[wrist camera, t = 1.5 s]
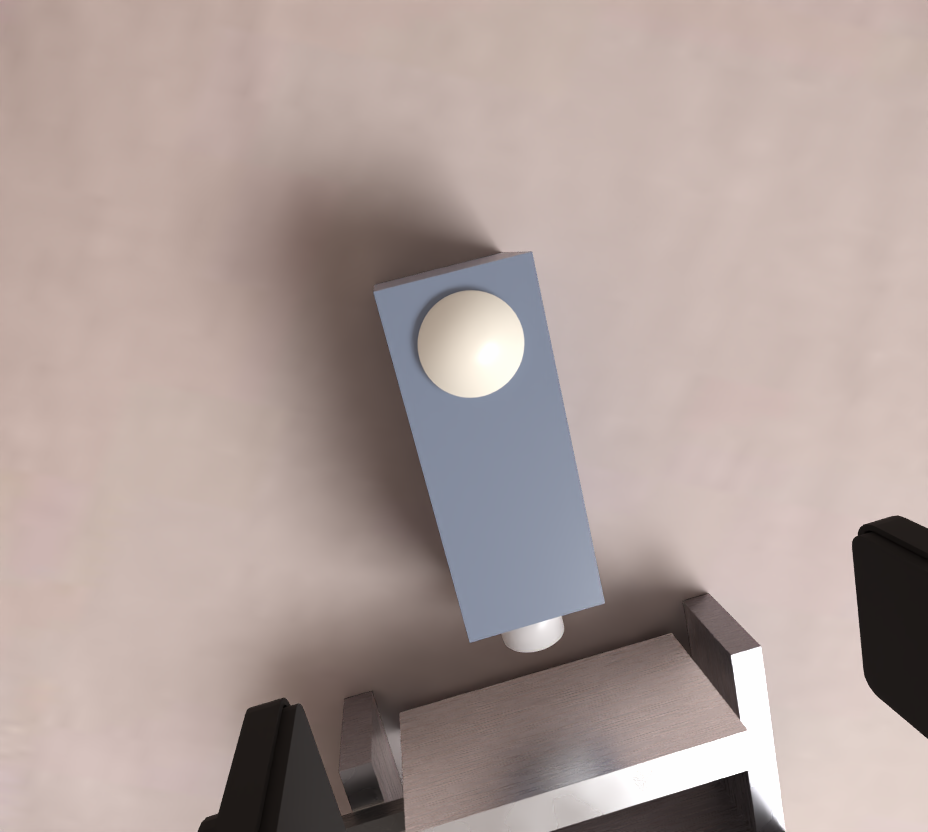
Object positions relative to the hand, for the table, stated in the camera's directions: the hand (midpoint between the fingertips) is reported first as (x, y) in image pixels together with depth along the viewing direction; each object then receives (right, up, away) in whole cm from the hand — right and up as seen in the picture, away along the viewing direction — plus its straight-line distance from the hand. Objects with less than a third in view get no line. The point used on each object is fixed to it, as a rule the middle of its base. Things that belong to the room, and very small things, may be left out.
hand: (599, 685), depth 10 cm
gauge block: (-1, +3, +15) cm, 16 cm away
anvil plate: (0, -8, +17) cm, 19 cm away
